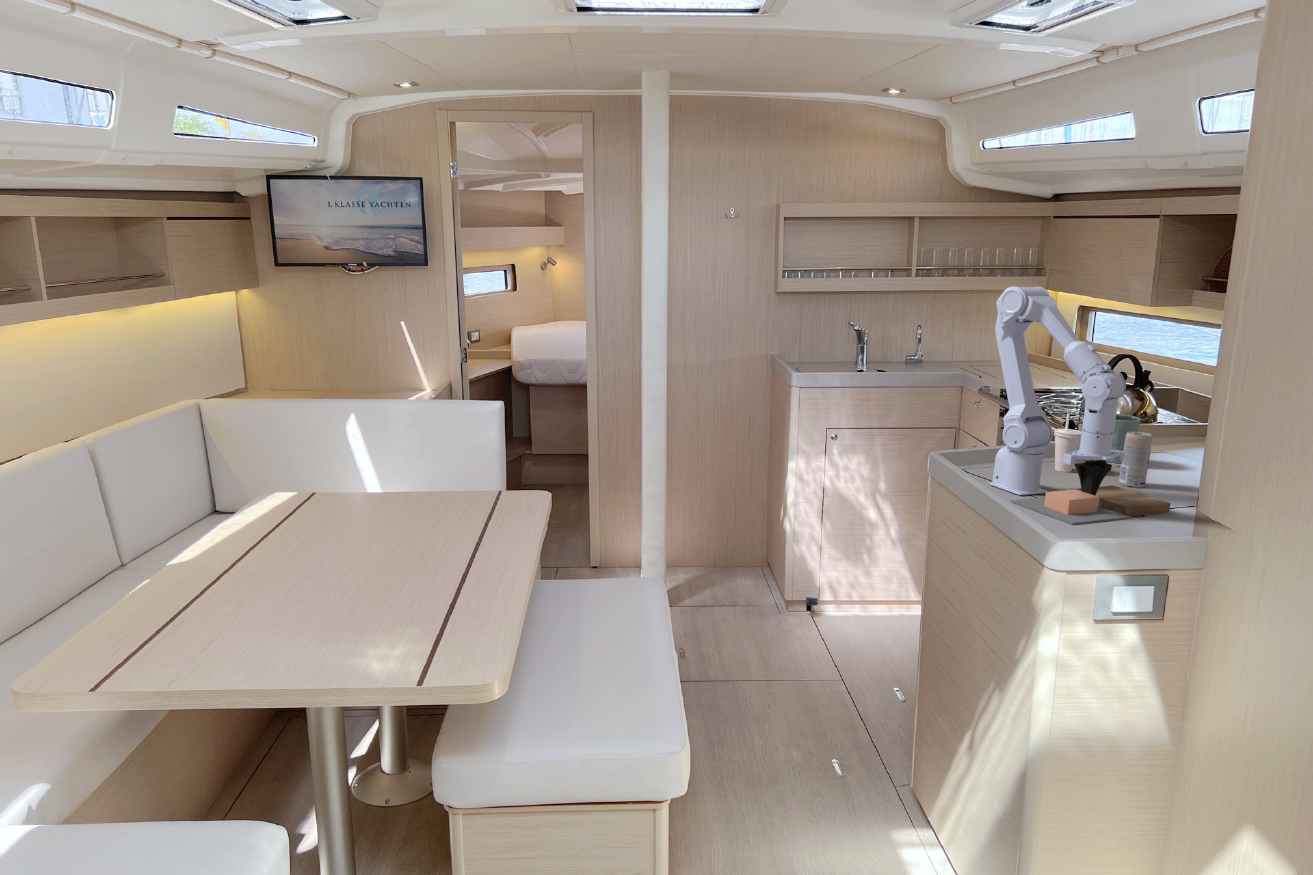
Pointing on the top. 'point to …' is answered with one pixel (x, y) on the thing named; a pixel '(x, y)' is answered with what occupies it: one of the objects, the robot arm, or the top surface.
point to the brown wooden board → (1129, 502)
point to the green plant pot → (1123, 431)
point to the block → (1071, 501)
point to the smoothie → (1065, 445)
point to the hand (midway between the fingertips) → (1088, 496)
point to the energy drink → (1135, 459)
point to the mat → (1072, 519)
